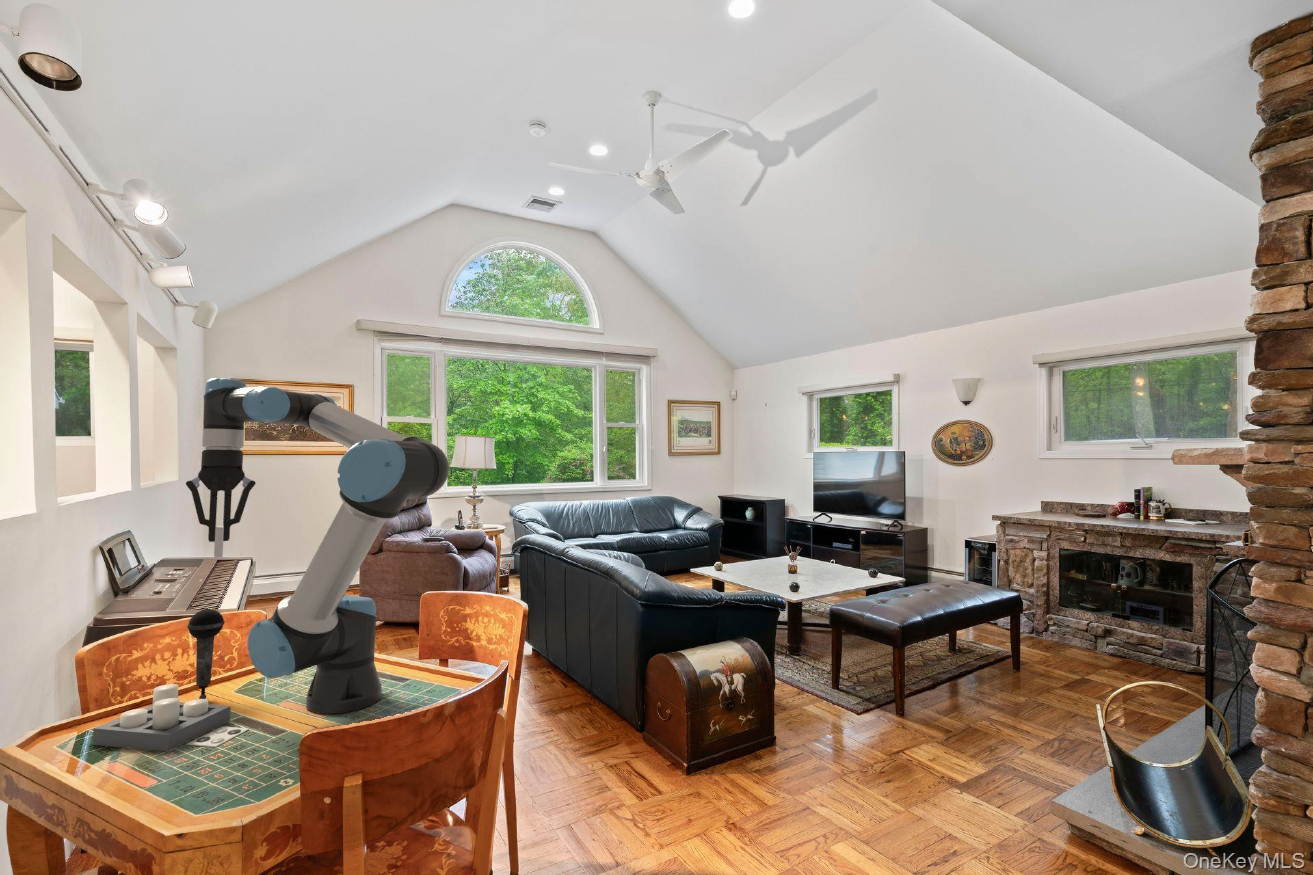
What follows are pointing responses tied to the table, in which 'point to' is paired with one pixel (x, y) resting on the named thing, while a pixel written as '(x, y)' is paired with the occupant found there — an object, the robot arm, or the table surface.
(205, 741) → the card
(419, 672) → the table surface
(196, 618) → the microphone
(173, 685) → the button
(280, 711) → the table surface
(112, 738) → the button board
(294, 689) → the table surface
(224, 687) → the table surface
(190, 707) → the button
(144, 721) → the button
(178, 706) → the button
